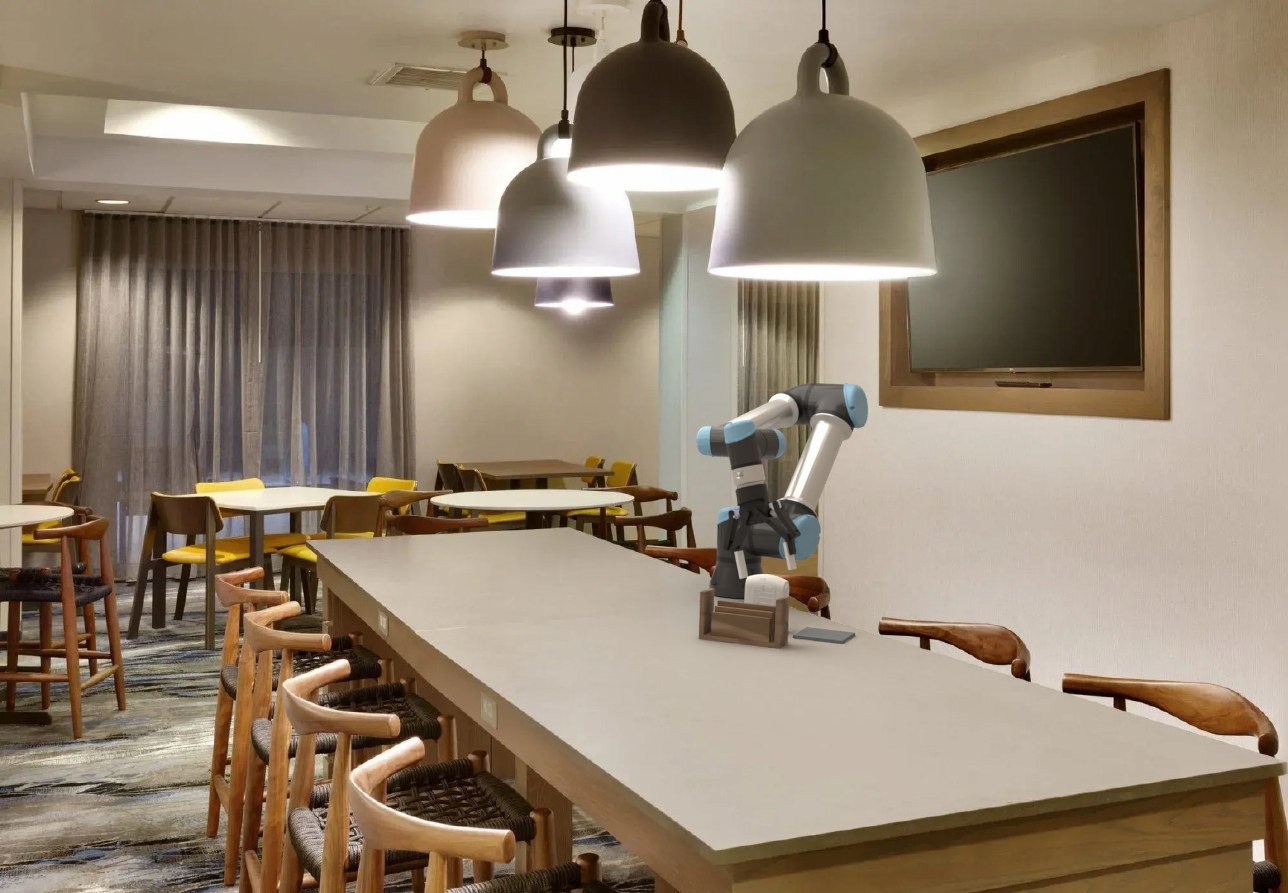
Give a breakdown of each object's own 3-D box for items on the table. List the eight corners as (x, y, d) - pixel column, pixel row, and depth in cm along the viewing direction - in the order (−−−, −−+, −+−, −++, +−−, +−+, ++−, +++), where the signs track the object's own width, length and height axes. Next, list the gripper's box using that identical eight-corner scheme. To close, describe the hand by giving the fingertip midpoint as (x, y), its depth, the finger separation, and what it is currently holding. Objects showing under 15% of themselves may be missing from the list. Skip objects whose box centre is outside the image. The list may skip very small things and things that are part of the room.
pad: (807, 629, 268) (807, 627, 268) (855, 635, 263) (855, 632, 263) (792, 637, 259) (792, 635, 259) (842, 643, 254) (842, 640, 254)
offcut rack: (708, 633, 261) (710, 588, 260) (787, 643, 253) (789, 596, 252) (698, 638, 255) (700, 591, 255) (779, 648, 248) (780, 600, 247)
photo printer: (790, 631, 266) (792, 575, 265) (783, 634, 262) (784, 578, 262) (748, 625, 271) (750, 571, 271) (740, 628, 267) (742, 573, 267)
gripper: (699, 496, 289) (715, 583, 286) (787, 475, 274) (805, 567, 272) (716, 494, 295) (732, 579, 292) (803, 474, 280) (821, 564, 278)
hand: (767, 574), depth 282 cm, fingers open, 13 cm apart
